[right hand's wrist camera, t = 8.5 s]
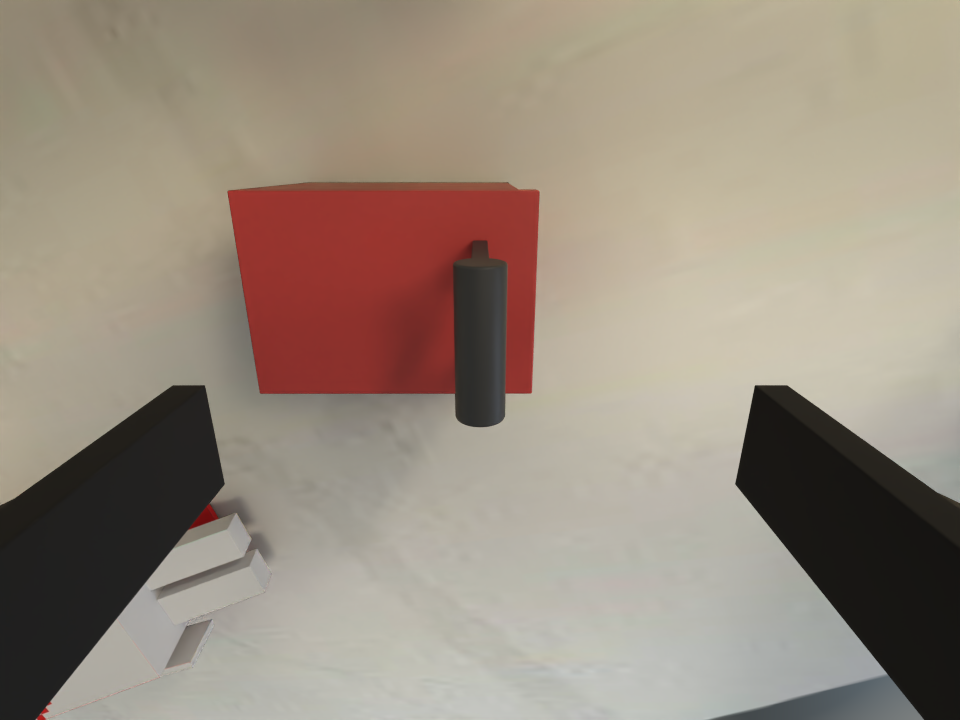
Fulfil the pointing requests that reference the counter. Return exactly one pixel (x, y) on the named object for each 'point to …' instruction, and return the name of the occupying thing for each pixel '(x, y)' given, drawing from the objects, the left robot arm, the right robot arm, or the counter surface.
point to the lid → (391, 292)
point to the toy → (169, 613)
